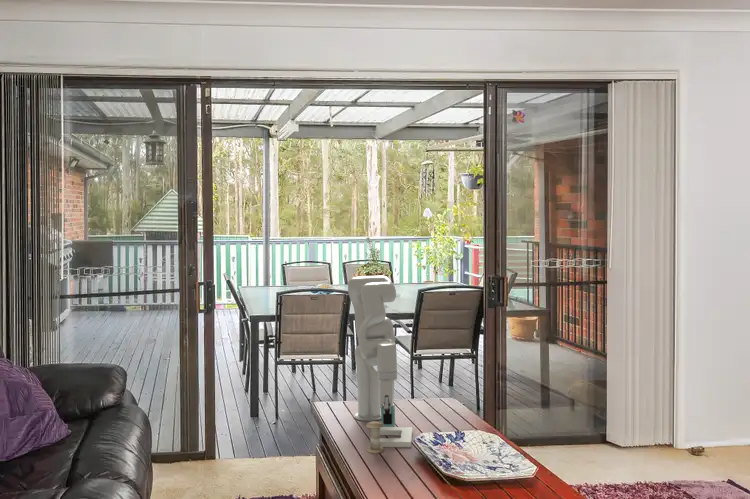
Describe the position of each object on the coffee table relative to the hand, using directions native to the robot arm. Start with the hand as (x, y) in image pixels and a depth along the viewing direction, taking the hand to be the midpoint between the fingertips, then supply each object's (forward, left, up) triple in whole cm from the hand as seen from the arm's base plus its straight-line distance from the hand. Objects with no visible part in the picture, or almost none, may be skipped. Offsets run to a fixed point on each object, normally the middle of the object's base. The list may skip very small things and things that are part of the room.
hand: (388, 421), depth 291 cm
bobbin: (+13, -4, -7) cm, 15 cm away
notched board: (0, +2, -7) cm, 7 cm away
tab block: (0, 0, -1) cm, 1 cm away
